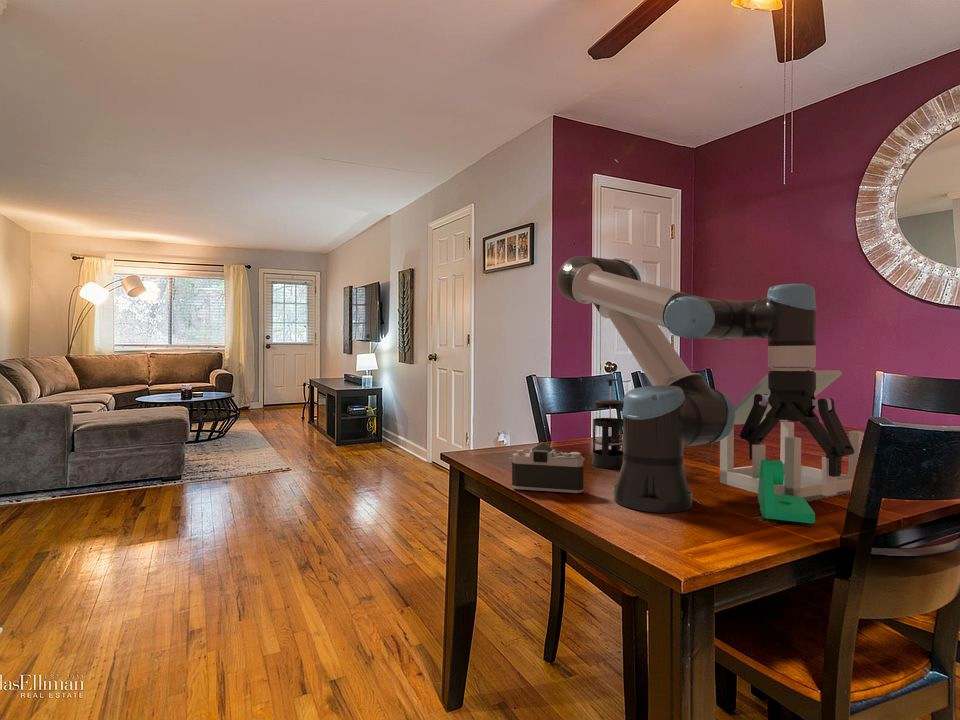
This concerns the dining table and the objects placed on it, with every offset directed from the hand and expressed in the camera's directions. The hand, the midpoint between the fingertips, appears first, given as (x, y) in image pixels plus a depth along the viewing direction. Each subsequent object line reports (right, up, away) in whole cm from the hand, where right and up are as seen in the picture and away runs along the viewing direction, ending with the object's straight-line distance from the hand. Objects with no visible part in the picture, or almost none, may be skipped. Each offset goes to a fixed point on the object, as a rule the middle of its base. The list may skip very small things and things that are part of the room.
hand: (791, 485), depth 94 cm
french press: (-22, -5, +44) cm, 49 cm away
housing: (+12, -5, +21) cm, 24 cm away
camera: (-42, -6, +21) cm, 47 cm away
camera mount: (-1, -6, +1) cm, 6 cm away
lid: (+11, +14, +22) cm, 29 cm away
